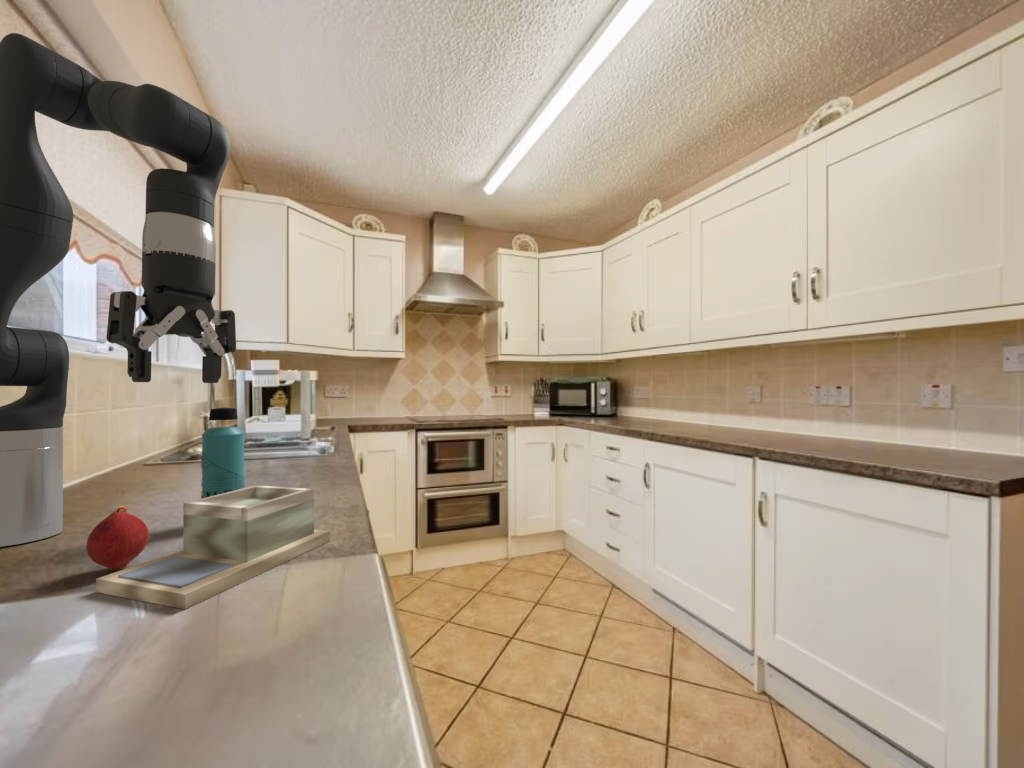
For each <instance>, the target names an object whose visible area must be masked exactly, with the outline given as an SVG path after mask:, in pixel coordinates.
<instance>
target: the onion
mask: <svg viewBox="0 0 1024 768" xmlns="http://www.w3.org/2000/svg"><path fill="white" fill-rule="evenodd" d="M127 510H128V507H127V506H126V505H120V506H118V507H116V509H114V510H113V511H112V512H111V513H110V514H109V515H108V516H106V517H105V518H103V519H102V520H101V521H99V523H98V524H97V525H95V527H94V528H93V529H92V530H91V532H90V533H89V534H88V538H87V539H86V540H87V541H86V546H85V547H86V553H87V555H88V556H89V558H90V559H91V561H93V562H94V563H95V564H97V565H98V566H101V567H104V568H107V569H111V570H114V571H120V570H123V569H125V568H127V566H128V565H129V563H131V562H132V561H133V560H134V559H135V558H137V557H138V556H139V555H140V554H141V553H142V552H143V551H144V550H145V548H146V546H147V544H148V542H149V539H150V532H149V528H148V527H147V525H146V523H145V522H144V521H143V520H142V519H140V518H139V517H137V516H135V515H134V514H130V513H128V512H127Z"/></svg>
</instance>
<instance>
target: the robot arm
mask: <svg viewBox="0 0 1024 768" xmlns="http://www.w3.org/2000/svg"><path fill="white" fill-rule="evenodd" d="M36 113H38V114H41V115H43V116H44V117H48V118H50V119H51V120H54V121H56V122H59V123H61V124H64V125H66V126H69V127H71V128H76V129H80V130H84V131H85V130H88V131H98V132H99V131H101V132H108V133H109V132H110V133H111V134H113V135H115V136H117V137H121V138H123V139H125V140H127V141H130V142H132V143H135V144H138V145H141V146H145V147H149V148H153V149H156V150H158V151H160V152H162V153H164V154H167V155H169V156H170V157H173V158H174V159H176V160H179V161H181V162H183V163H185V166H186V171H182V170H178V169H173V168H156V169H153V170H151V171H150V172H149V173H148V174H147V177H146V181H145V183H146V184H145V218H144V224H143V228H142V229H143V230H142V237H141V238H142V241H141V242H142V245H141V250H142V251H141V287H142V289H143V292H142V295H137V294H136V293H135V292H134V291H131V290H129V291H128V290H123V291H122V290H121V291H117V292H116V291H115V292H112V293H111V294H110V295H109V308H108V315H107V327H106V329H107V330H106V336H105V338H106V341H107V342H108V343H110V344H116V345H118V346H121V347H124V348H125V349H126V351H127V368H126V369H127V375H128V377H129V378H131V381H132V382H133V383H150V382H151V380H152V352H153V351H152V350H151V351H150V350H148V349H149V348H151V346H153V344H154V343H155V342H157V340H158V339H159V338H161V337H163V336H168V335H169V336H172V335H175V336H178V337H184V338H190V340H191V341H192V343H194V344H196V345H197V346H198V347H199V348H200V351H202V353H203V354H204V356H203V355H202V358H201V359H202V362H201V364H202V366H201V368H202V369H201V372H202V373H201V380H202V383H203V384H217V383H219V381H220V379H221V378H222V370H223V369H222V365H223V364H222V363H223V361H222V358H223V356H224V355H226V354H229V353H235V352H236V350H237V338H236V336H237V333H236V315H235V311H233V310H232V309H227V310H216V309H214V306H213V303H212V302H213V299H214V296H216V267H217V265H216V264H217V263H216V262H217V261H216V258H217V255H216V253H217V246H216V245H217V244H216V238H215V237H216V236H215V200H216V195H217V193H218V190H219V187H220V184H221V180H222V177H223V174H224V171H225V169H226V167H227V165H228V162H229V160H230V156H231V151H232V147H231V146H232V144H231V141H230V140H231V139H230V137H229V134H228V132H227V129H226V128H225V126H224V125H223V124H222V123H221V122H220V121H219V120H218V119H217V118H214V117H213V116H211V115H210V114H208V113H206V112H204V111H203V110H202V109H200V108H198V107H196V106H195V105H193V104H191V103H190V102H188V101H186V100H184V99H183V98H181V97H179V96H177V95H176V94H174V93H173V92H171V91H169V90H167V89H165V88H163V87H160V86H158V85H154V84H151V83H143V84H140V85H132V84H130V83H125V82H122V81H118V80H117V81H116V80H102V79H100V78H98V77H97V76H95V75H94V74H93V73H92V72H90V71H89V70H88V69H86V68H85V67H84V66H83V67H82V65H79V64H78V63H76V62H74V61H73V60H70V59H69V58H67V57H65V56H63V55H61V54H59V53H58V52H56V51H54V50H52V49H51V48H48V47H47V46H46V45H43V44H41V43H40V42H38V41H36V40H34V39H31V38H29V37H28V36H26V35H23V34H21V33H17V32H10V33H8V34H6V35H4V36H3V37H2V39H1V40H0V387H26V390H25V392H24V393H25V394H23V395H22V397H20V398H19V399H16V400H14V401H12V402H10V403H8V404H4V405H2V406H0V548H1V547H7V546H9V547H10V546H13V545H14V546H15V545H20V544H26V543H31V542H36V541H40V540H43V539H47V538H50V537H54V536H56V535H58V534H61V532H63V525H64V524H63V523H64V522H63V516H64V515H63V509H64V508H63V507H64V498H63V497H64V416H65V412H66V408H67V391H68V379H69V370H70V368H69V367H70V352H69V348H68V347H69V346H68V343H67V341H66V339H65V338H64V337H63V335H62V334H60V333H58V332H55V331H51V330H50V331H49V330H45V329H43V330H41V329H34V328H32V329H31V328H24V327H12V326H11V327H10V326H8V323H9V320H10V317H11V314H12V311H13V309H14V307H15V305H16V304H17V302H18V301H19V299H20V298H21V296H22V295H23V294H24V293H25V292H26V291H27V290H28V289H29V288H30V287H32V286H33V285H34V284H35V283H36V282H37V281H40V279H42V277H44V276H46V275H47V274H48V273H49V272H51V271H52V270H53V269H55V268H56V267H57V266H58V265H60V263H61V262H62V261H63V260H65V257H66V256H67V254H68V253H69V250H70V246H71V237H72V231H73V222H74V211H73V207H72V205H71V202H70V199H69V198H68V195H67V194H66V192H65V190H64V188H63V186H62V185H61V183H60V182H59V181H60V180H59V179H58V178H57V176H56V174H55V172H54V171H53V169H52V167H51V165H50V164H49V162H48V160H47V158H46V157H45V155H44V152H43V149H42V148H41V145H40V142H39V138H38V133H37V126H36V118H35V117H36ZM140 309H141V310H142V312H143V314H144V315H145V316H146V317H145V318H144V319H143V320H142V321H141V323H140V324H139V325H137V327H136V328H135V320H136V312H138V311H140ZM211 323H213V324H214V328H213V326H212V325H211Z"/></svg>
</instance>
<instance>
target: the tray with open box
mask: <svg viewBox="0 0 1024 768" xmlns="http://www.w3.org/2000/svg"><path fill="white" fill-rule="evenodd" d="M182 505H183V506H182V507H183V510H182V511H183V512H182V515H183V525H182V527H183V529H182V530H183V531H182V533H183V536H182V537H183V541H182V542H183V543H182V545H183V547H182V548H183V549H180V550H176V551H173V552H171V553H167V554H165V555H162V556H159V557H156V558H153V559H150V560H147V561H144V562H141V563H139V564H135V565H132V566H130V567H125V568H123V569H120V570H116V571H115V572H111V573H109V574H107V575H106V574H105V575H103V576H101V577H98V578H96V579H95V593H99V594H104V595H109V596H115V597H120V598H125V599H131V600H135V601H141V602H145V603H151V604H157V605H162V606H167V607H172V608H177V609H181V610H187V609H189V608H191V607H194V606H195V605H197V604H199V603H201V602H203V601H206V600H208V599H210V598H212V597H214V596H217V595H218V594H222V593H223V592H225V591H227V590H230V589H231V588H234V587H235V586H238V585H239V584H242V583H244V582H246V581H248V580H250V579H253V578H254V577H256V576H258V575H261V574H263V573H266V572H267V571H269V570H272V569H273V568H275V567H277V566H280V565H282V564H284V563H286V562H289V561H290V560H292V559H294V558H296V557H299V556H301V555H303V554H305V553H308V552H309V551H312V550H314V549H316V548H318V547H320V546H322V545H325V544H326V543H329V542H330V540H331V538H330V536H331V531H330V530H326V529H324V530H323V529H315V489H314V488H305V487H302V488H301V487H289V486H271V485H258V484H257V485H256V484H255V485H251V486H248V487H244V488H243V489H239V490H235V491H231V492H227V493H223V494H218V495H214V496H210V497H206V498H202V499H201V498H199V499H193V500H191V501H190V500H189V501H185V502H183V504H182Z"/></svg>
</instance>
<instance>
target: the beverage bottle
mask: <svg viewBox="0 0 1024 768" xmlns="http://www.w3.org/2000/svg"><path fill="white" fill-rule="evenodd" d="M237 410H238V409H237V408H236V407H235V408H234V407H216V408H211V409H210V410H209V418H208V421H231V420H238V411H237ZM201 440H202V442H201V443H202V447H201V448H200V450H201V451H200V452H201V457H200V463H201V467H200V469H201V479H200V481H201V482H200V484H201V491H200V499H202V498H206V497H210V496H214V495H218V494H223V493H227V492H231V491H235V490H239V489H243V488H245V431H244V430H242V429H241V428H240V427H238V426H215V427H208V428H207V429H206V430H204V431H203V433H202V434H201Z"/></svg>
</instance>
